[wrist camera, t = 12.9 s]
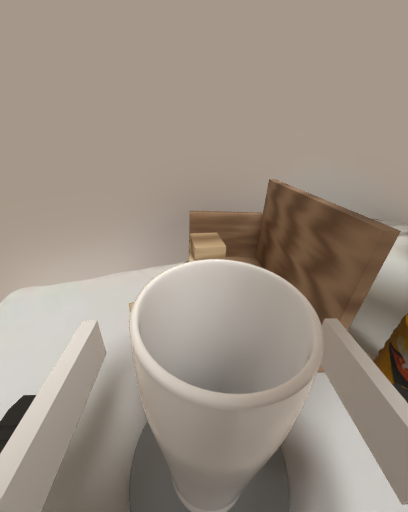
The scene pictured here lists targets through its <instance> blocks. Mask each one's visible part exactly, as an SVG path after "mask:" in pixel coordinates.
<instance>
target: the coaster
mask: <svg viewBox="0 0 408 512" xmlns="http://www.w3.org/2000/svg"><path fill="white" fill-rule="evenodd" d="M130 509H131V512H191V511H190V510H188V509H187V508H186V507H185V506H184V505H183V503H182V502H181V501H180V499H179V497H178V496H177V494H176V491H175V489H174V486H173V483H172V480H171V475H170V472H169V469H168V467H167V465H166V462H165V460H164V458H163V456H162V453H161V451H160V449H159V447H158V444H157V442H156V440H155V438H154V435H153V433H152V431H151V428H150V426H149V423H148V421H147V423H146V425H145V427H144V429H143V431H142V433H141V436H140V438H139V441H138V444H137V447H136V450H135V454H134V458H133V463H132V468H131V477H130ZM227 512H289V485H288V476H287V471H286V465H285V461H284V458H283V454H282V451H281V448H280V447H279V448H278V450H277V451H276V453H275V454H274V455H273V456H272V458H271V459H270V460H269V461H268V462H267V463H266V465H265V466H264V467H263V468H262V469H261V470H260V471H259V472H258V473H257V475H256V476H255V477H254V478H253V479H252V480H251V481H250V483H249V484H248V485H247V486H246V487H245V488H244V490H243V491H242V492H241V495H240V497H239V498H238V500H237V502H236V503H235V504H234V505H233V506H232V508H231V509H229V510H228V511H227Z"/></svg>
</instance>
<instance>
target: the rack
mask: <svg viewBox="0 0 408 512" xmlns="http://www.w3.org/2000/svg"><path fill="white" fill-rule="evenodd" d="M216 232H217V233H218V235H219V236H220V238H221V239H222V241H223V242H224V244H225V245H226V255H225V260H233V261H239V262H244V263H248V264H252V265H255V266H258V267H261V268H264V269H266V270H268V271H270V272H273V273H275V274H276V275H278V276H280V277H282V278H283V279H285V280H286V281H288V282H289V283H291V284H292V285H293V286H294V287H296V288H297V289H298V290H299V291H300V292H301V293H302V294H303V295H304V296H305V297H306V298H307V300H308V301H309V302H310V304H311V305H312V306H313V308H314V310H315V311H316V313H317V315H318V317H319V320H320V322H321V325H322V324H323V321H324V319H331V318H337V319H338V320H339V321H340V323H341V324H342V325H343V326H344V327H345V329H346V330H347V331H348V329H349V327H350V325H351V323H352V321H353V319H354V318H355V316H356V314H357V312H358V310H359V308H360V306H361V304H362V303H363V301H364V299H365V297H366V295H367V293H368V291H369V289H370V288H371V286H372V284H373V282H374V280H375V278H376V276H377V274H378V273H379V271H380V269H381V267H382V265H383V263H384V261H385V259H386V258H387V256H388V254H389V252H390V250H391V248H392V246H393V245H394V243H395V241H396V239H397V237H398V235H399V233H400V231H399V230H397V229H394V228H392V227H390V226H387V225H385V224H382V223H380V222H377V221H375V220H373V219H370V218H367V217H365V216H363V215H360V214H358V213H355V212H353V211H350V210H348V209H346V208H343V207H341V206H338V205H336V204H334V203H331V202H329V201H326V200H324V199H322V198H319V197H317V196H314V195H312V194H309V193H307V192H305V191H302V190H300V189H297V188H295V187H292V186H290V185H288V184H285V183H283V182H280V181H278V180H269V183H268V189H267V194H266V200H265V206H264V211H263V214H262V213H261V212H221V211H220V212H219V211H190V231H189V235H190V233H216ZM189 238H190V236H189ZM189 243H190V239H189ZM317 372H324V370H323V369H322V367H321V365H320V366H319V369H318V371H317Z"/></svg>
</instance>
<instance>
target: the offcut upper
mask: <svg viewBox="0 0 408 512" xmlns="http://www.w3.org/2000/svg"><path fill="white" fill-rule="evenodd" d="M190 249H191V252H192V255H193V258H194V261H197V260H207V259H224V260H225V255H226V245H225V244H224V242H223V241H222V239H221V238H220V236H219V235H218V233H217V232H216V233H190Z"/></svg>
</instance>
